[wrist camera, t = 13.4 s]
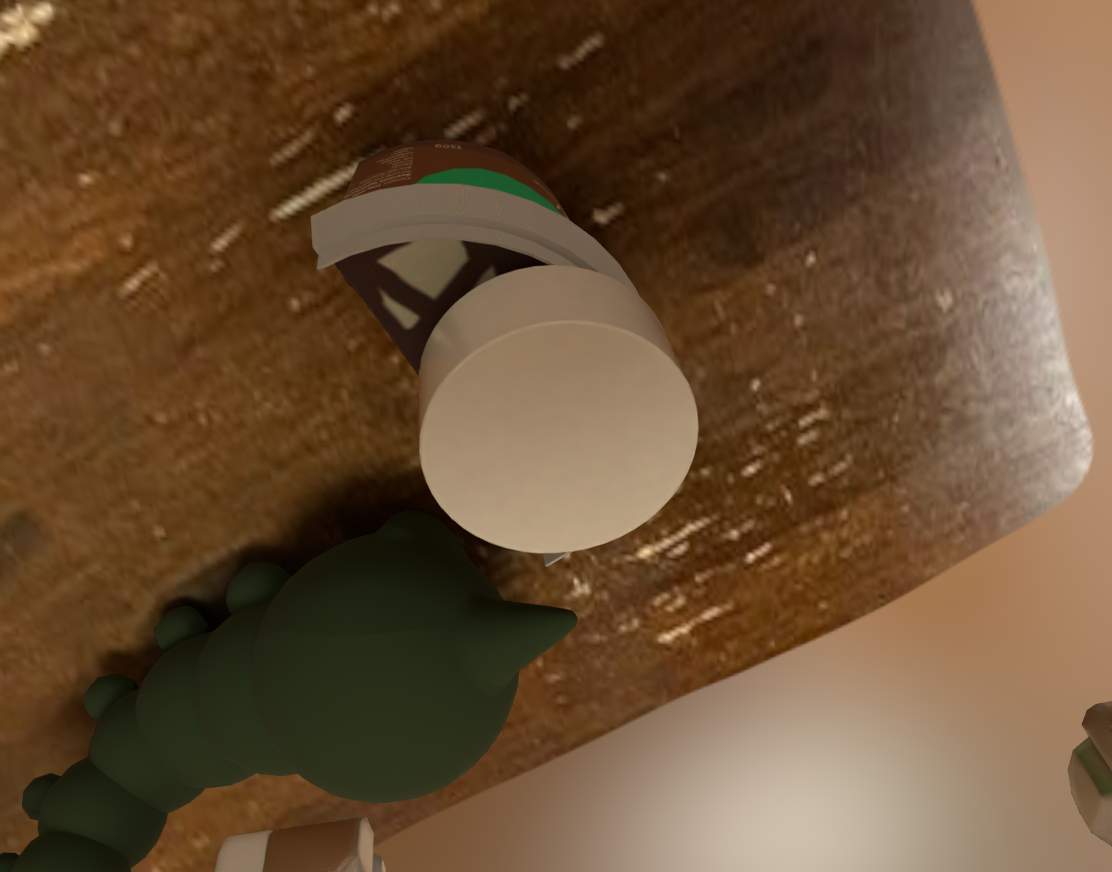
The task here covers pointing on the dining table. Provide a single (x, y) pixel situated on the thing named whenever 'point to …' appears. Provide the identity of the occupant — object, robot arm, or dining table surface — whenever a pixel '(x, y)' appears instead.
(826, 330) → the dining table surface
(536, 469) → the beige hockey puck
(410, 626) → the toy figurine
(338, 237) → the food container
